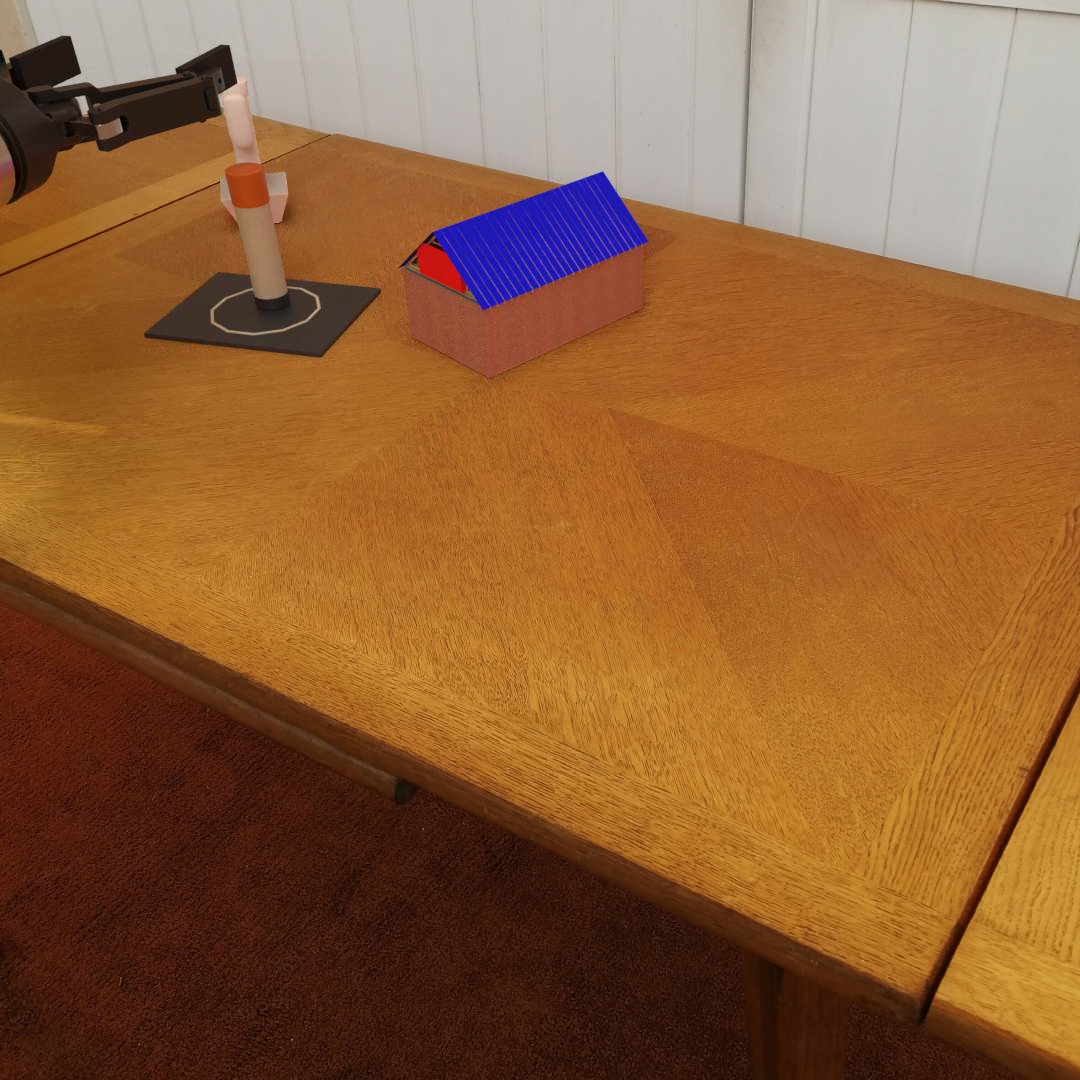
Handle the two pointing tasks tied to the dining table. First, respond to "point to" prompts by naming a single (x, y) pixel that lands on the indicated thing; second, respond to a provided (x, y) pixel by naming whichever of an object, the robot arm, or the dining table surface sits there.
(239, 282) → the slate board
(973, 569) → the dining table surface
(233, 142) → the figurine
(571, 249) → the house
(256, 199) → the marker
